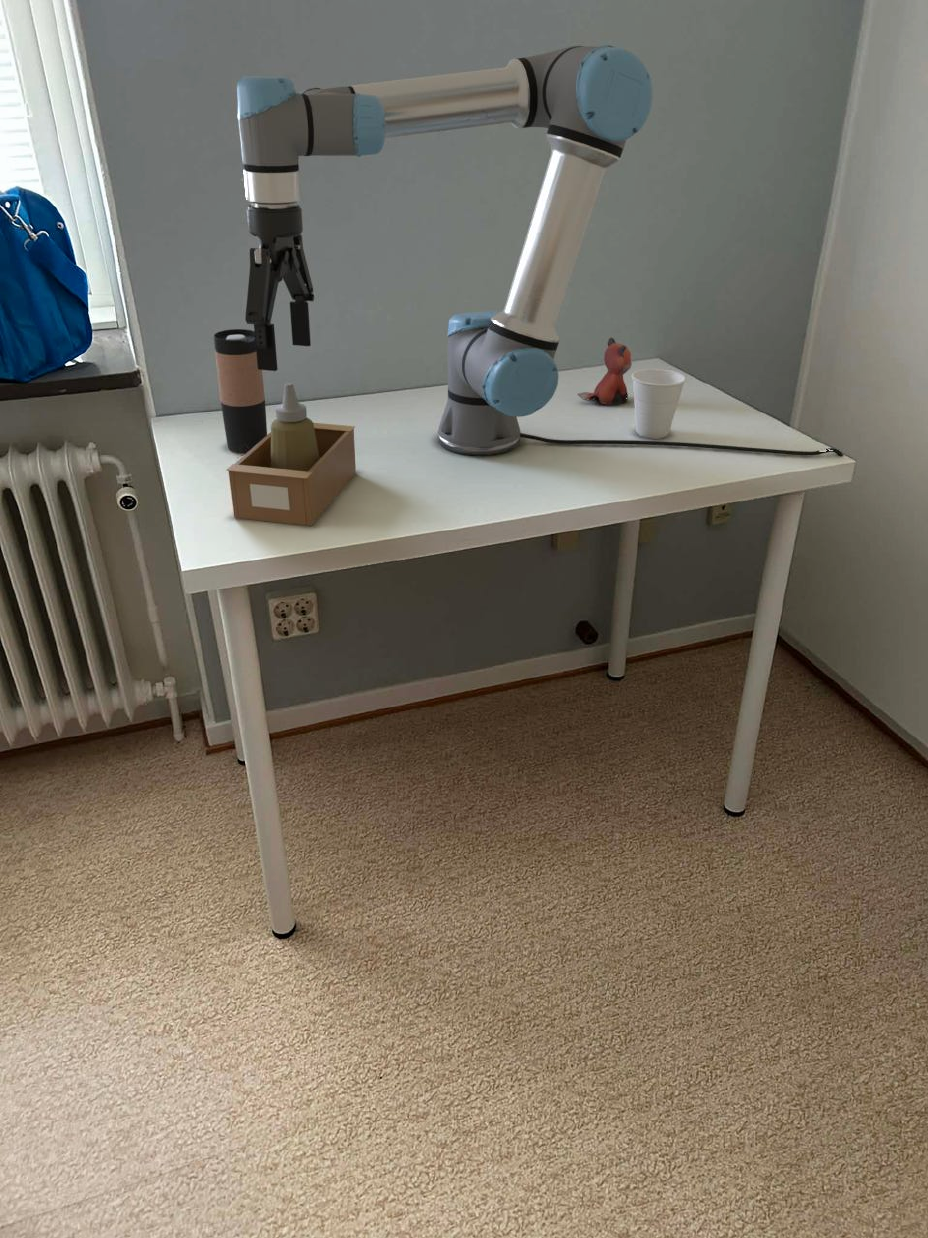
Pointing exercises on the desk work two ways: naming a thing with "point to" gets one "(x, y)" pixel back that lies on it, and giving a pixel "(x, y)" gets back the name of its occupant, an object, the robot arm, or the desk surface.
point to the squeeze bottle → (293, 435)
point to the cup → (656, 400)
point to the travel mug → (240, 389)
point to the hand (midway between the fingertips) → (285, 357)
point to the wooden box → (293, 480)
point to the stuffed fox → (612, 376)
